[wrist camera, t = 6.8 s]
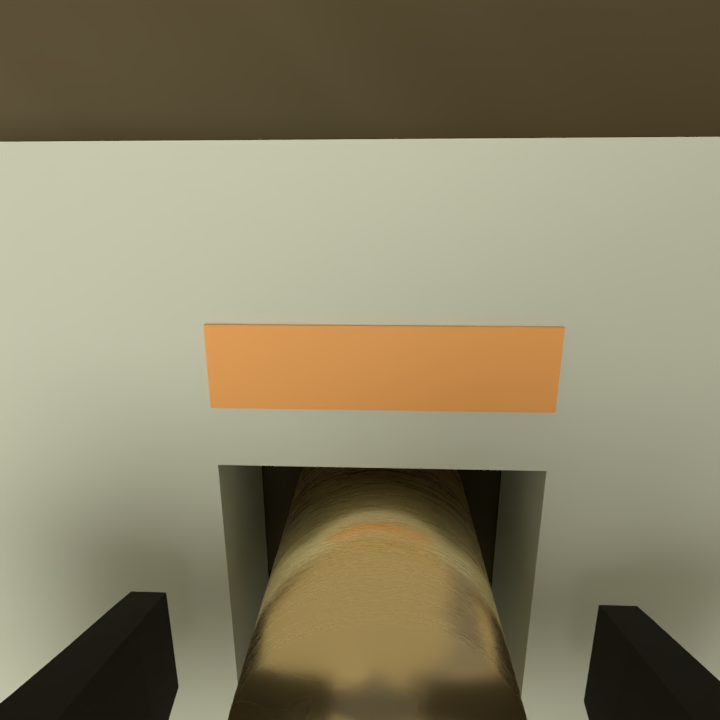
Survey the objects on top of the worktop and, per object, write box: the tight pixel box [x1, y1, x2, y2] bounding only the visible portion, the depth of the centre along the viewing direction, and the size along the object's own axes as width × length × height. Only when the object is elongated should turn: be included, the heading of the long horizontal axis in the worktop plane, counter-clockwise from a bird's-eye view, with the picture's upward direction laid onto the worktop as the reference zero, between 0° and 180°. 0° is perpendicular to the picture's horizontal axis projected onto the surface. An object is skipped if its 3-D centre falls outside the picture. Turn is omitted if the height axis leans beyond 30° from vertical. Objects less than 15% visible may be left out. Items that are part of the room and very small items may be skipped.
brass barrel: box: [228, 467, 527, 720], centre depth 10 cm, size 4×4×6 cm
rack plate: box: [0, 137, 720, 720], centre depth 11 cm, size 16×16×3 cm
